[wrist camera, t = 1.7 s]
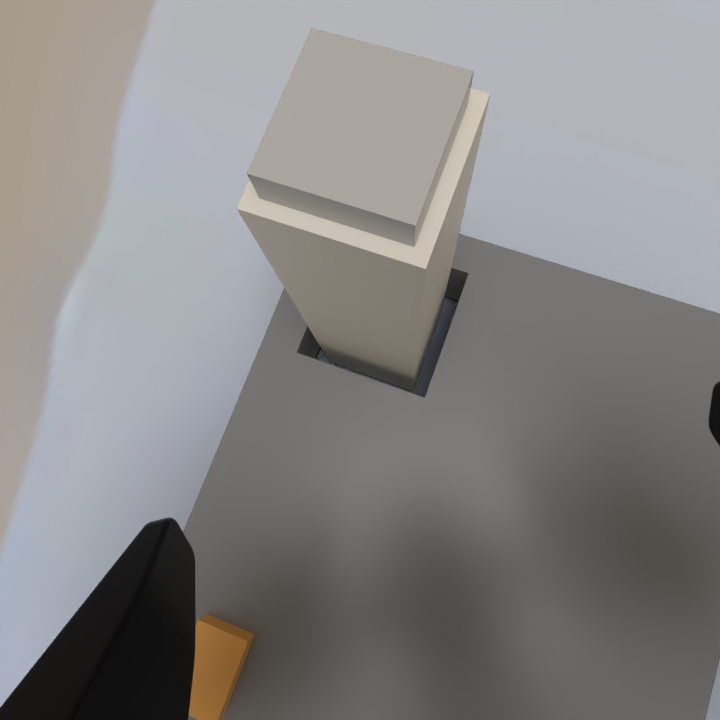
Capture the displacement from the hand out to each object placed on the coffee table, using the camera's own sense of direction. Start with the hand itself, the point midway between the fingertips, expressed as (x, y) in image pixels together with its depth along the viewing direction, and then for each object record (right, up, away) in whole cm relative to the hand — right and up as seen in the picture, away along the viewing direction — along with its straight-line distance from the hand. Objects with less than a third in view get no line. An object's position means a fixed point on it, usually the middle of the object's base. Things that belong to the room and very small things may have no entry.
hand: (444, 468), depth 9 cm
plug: (0, +3, +13) cm, 13 cm away
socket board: (+2, -4, +11) cm, 12 cm away
